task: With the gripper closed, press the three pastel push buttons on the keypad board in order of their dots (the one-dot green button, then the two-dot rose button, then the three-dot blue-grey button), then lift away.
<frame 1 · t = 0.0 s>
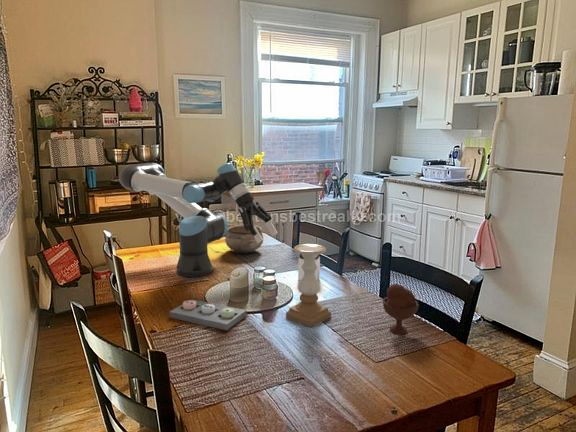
hand: (268, 238, 190), 15 cm above the table, tool tilted 35°, fingers open, 13 cm apart
button one: (227, 314, 144), point 2 cm above the table, slide at 0.0 cm
button three: (208, 310, 147), point 2 cm above the table, slide at 0.0 cm
candle holder: (308, 317, 148), on the table
cooking pot: (244, 252, 223), on the table
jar: (308, 279, 185), on the table
keypad board: (208, 316, 148), on the table
ice cream bowl: (398, 331, 139), on the table
button two: (189, 306, 150), point 2 cm above the table, slide at 0.0 cm
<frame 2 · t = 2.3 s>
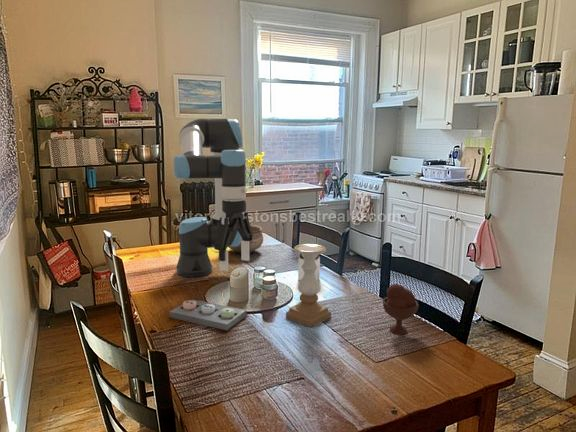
hand: (235, 265, 143), 18 cm above the table, tool pointing down, fingers open, 13 cm apart
nothing on the table moved.
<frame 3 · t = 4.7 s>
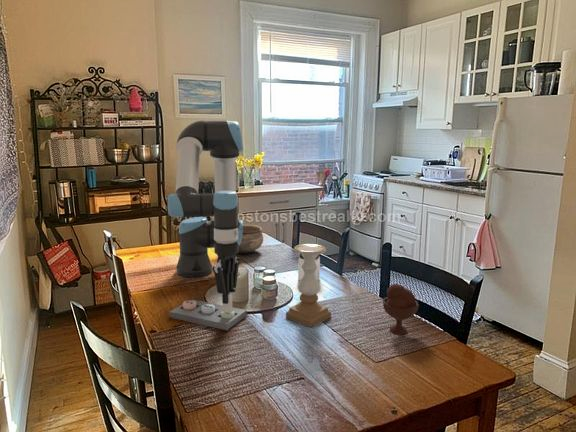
hand: (227, 311, 144), 3 cm above the table, tool pointing down, fingers closed
button one: (227, 316, 144), point 2 cm above the table, slide at 0.7 cm, touching gripper
everything else where it was.
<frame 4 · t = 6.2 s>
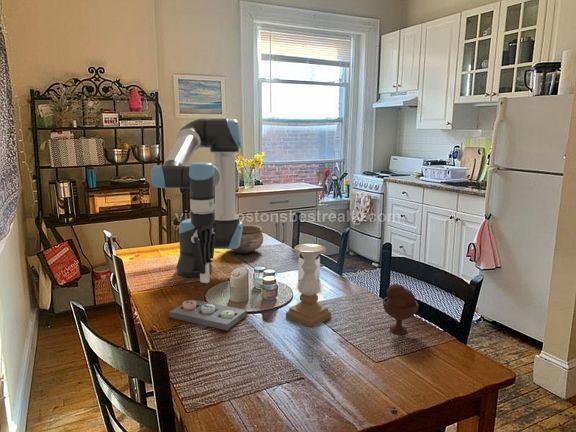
hand: (204, 281, 146), 12 cm above the table, tool pointing down, fingers closed
button one: (227, 316, 144), point 2 cm above the table, slide at 0.8 cm
everything else where it was.
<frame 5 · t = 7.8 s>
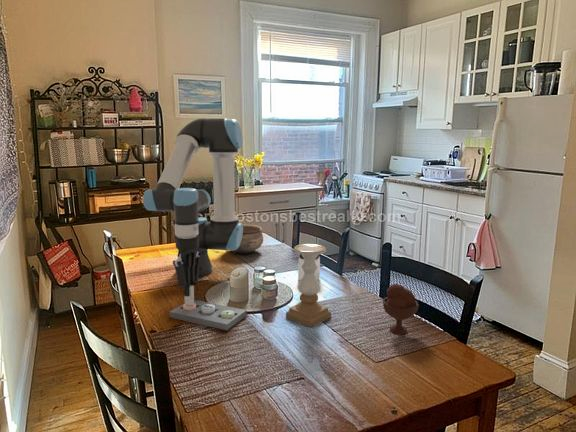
hand: (189, 304, 150), 3 cm above the table, tool pointing down, fingers closed
button two: (189, 308, 150), point 2 cm above the table, slide at 0.8 cm, touching gripper
everything else where it was.
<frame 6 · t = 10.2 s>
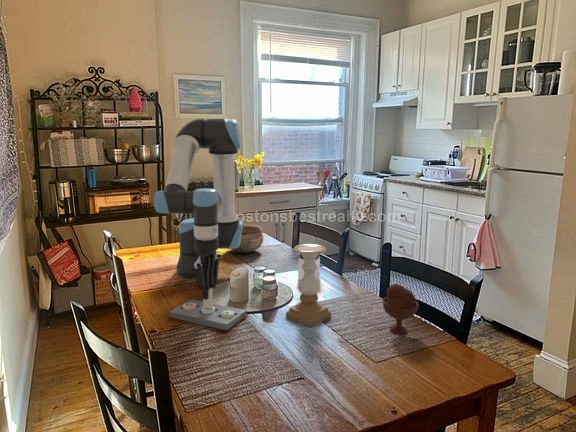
hand: (208, 307, 147), 3 cm above the table, tool pointing down, fingers closed
button three: (208, 311, 147), point 2 cm above the table, slide at 0.5 cm, touching gripper
button two: (189, 308, 150), point 2 cm above the table, slide at 0.8 cm
everything else where it was.
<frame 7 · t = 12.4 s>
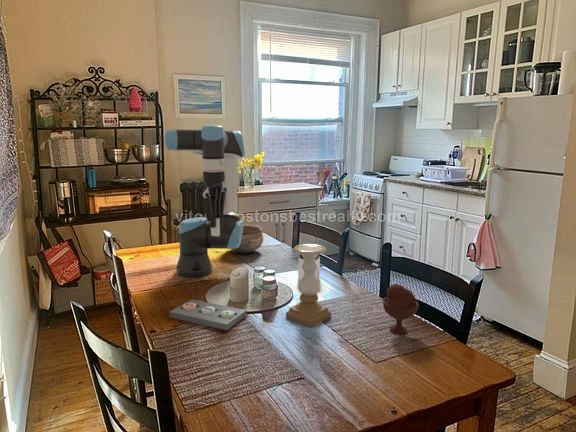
hand: (215, 235, 161), 23 cm above the table, tool pointing down, fingers closed
button three: (208, 312, 147), point 2 cm above the table, slide at 0.8 cm
everything else where it was.
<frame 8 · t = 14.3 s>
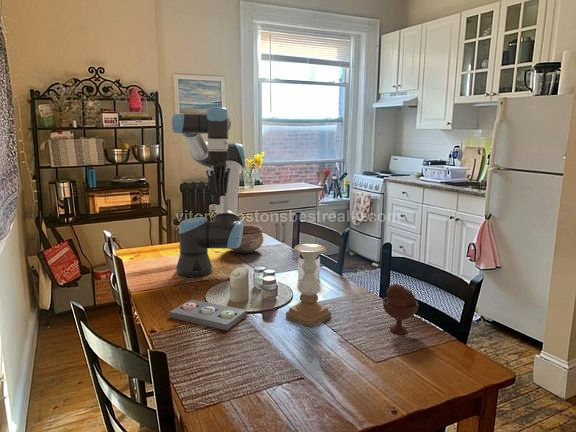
hand: (219, 212, 170), 29 cm above the table, tool pointing down, fingers closed
nothing on the table moved.
at the end: button one slide at 0.8 cm; button two slide at 0.8 cm; button three slide at 0.8 cm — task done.
